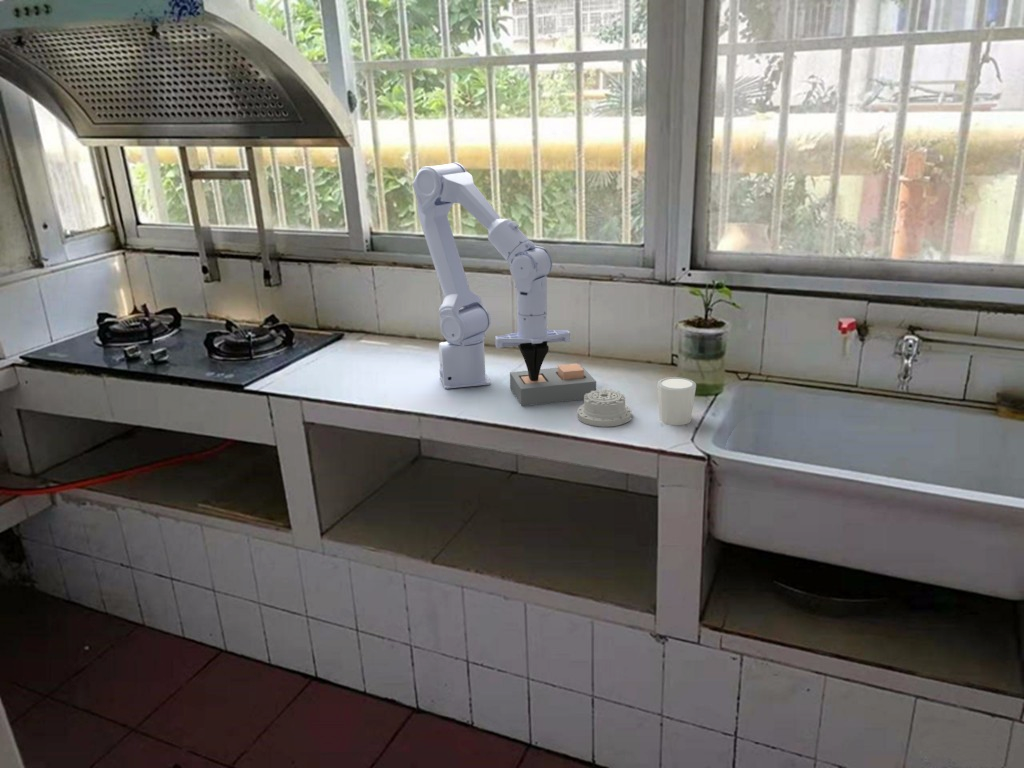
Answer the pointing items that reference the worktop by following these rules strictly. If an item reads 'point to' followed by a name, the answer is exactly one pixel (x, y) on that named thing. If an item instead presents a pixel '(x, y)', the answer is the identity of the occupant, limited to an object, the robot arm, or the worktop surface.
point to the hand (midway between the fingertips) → (533, 379)
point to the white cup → (676, 400)
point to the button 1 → (526, 381)
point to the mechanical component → (604, 409)
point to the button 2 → (570, 371)
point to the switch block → (550, 387)
